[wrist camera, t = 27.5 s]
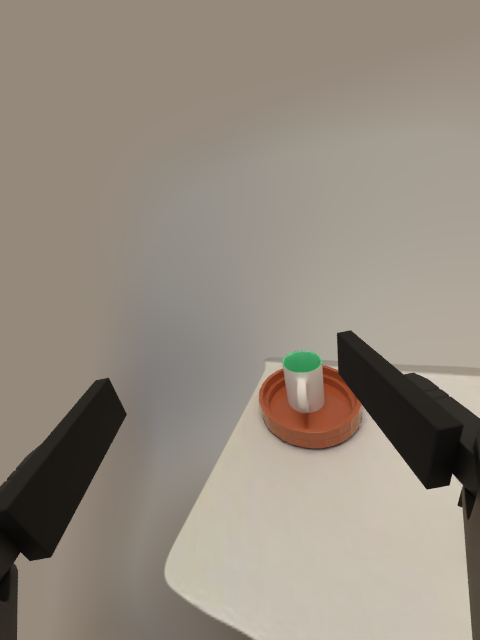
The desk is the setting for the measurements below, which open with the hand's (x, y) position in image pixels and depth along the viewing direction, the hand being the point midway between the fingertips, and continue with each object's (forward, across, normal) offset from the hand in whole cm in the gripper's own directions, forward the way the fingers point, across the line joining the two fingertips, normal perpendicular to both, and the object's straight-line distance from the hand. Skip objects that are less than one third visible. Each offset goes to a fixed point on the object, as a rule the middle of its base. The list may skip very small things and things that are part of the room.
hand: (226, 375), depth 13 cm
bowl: (+28, +12, -32) cm, 44 cm away
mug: (+28, +11, -32) cm, 44 cm away
